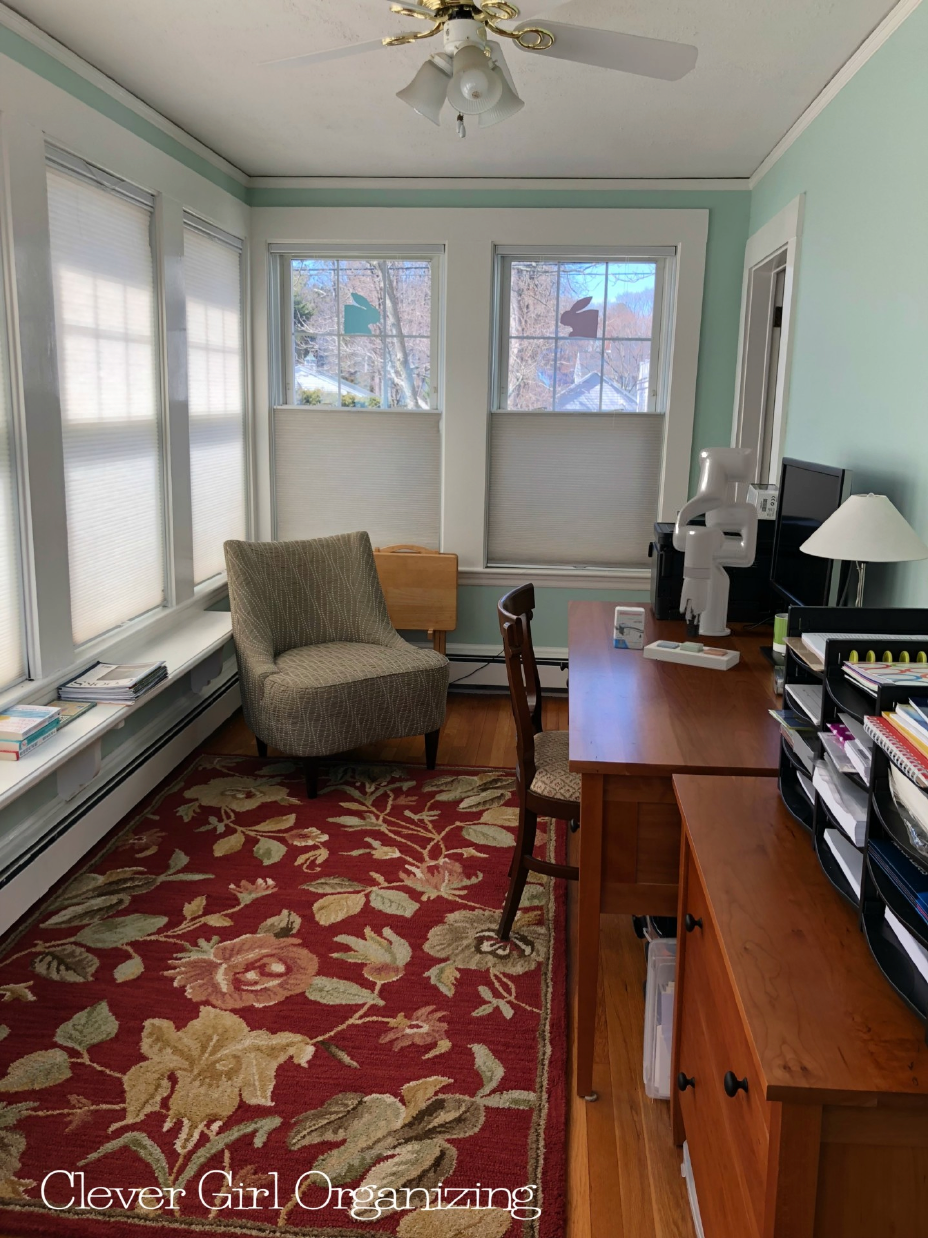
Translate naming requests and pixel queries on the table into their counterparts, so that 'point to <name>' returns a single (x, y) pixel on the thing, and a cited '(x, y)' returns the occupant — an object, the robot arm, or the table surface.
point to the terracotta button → (715, 652)
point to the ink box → (629, 627)
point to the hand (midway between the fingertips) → (692, 637)
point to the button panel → (691, 656)
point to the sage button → (691, 647)
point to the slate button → (668, 645)
